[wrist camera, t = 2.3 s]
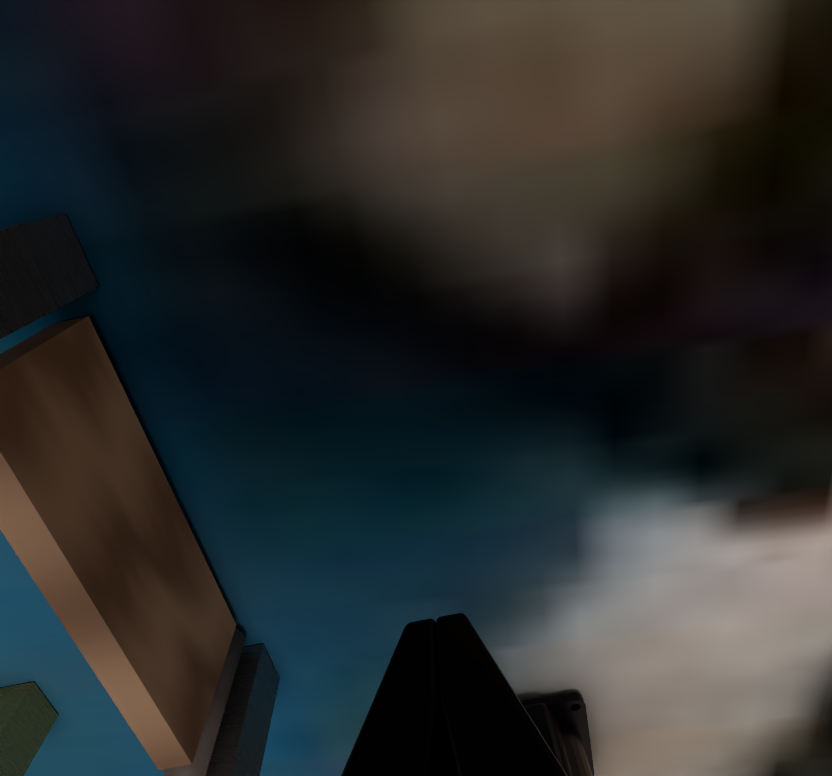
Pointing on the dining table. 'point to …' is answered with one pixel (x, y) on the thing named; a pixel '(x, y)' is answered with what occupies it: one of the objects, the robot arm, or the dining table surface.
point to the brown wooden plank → (113, 544)
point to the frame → (25, 704)
